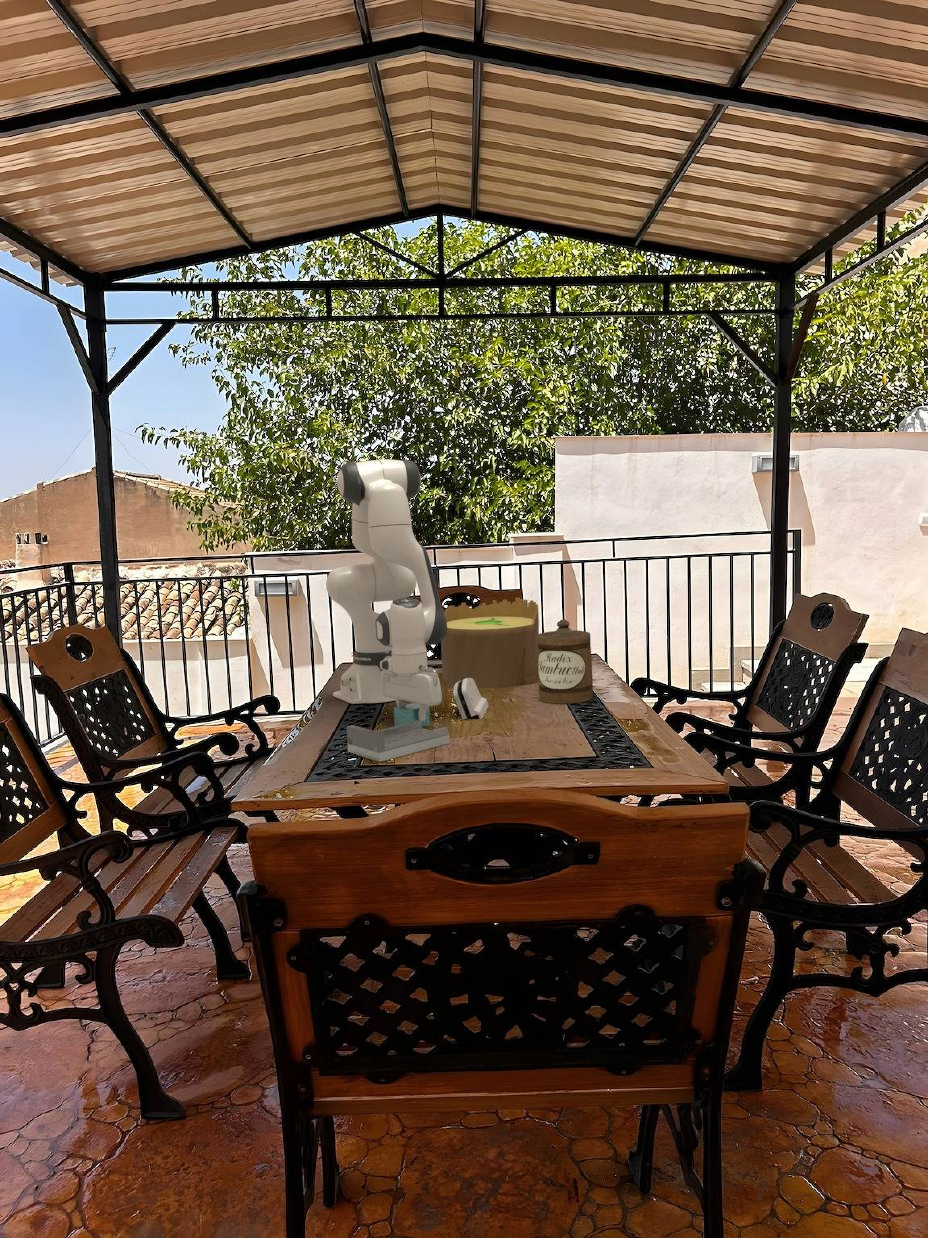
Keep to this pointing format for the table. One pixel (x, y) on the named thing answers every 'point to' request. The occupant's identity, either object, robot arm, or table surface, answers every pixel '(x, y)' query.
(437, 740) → the guide channel
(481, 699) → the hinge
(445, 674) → the brown wide cylinder
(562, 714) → the table surface
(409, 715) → the block
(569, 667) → the wooden container
